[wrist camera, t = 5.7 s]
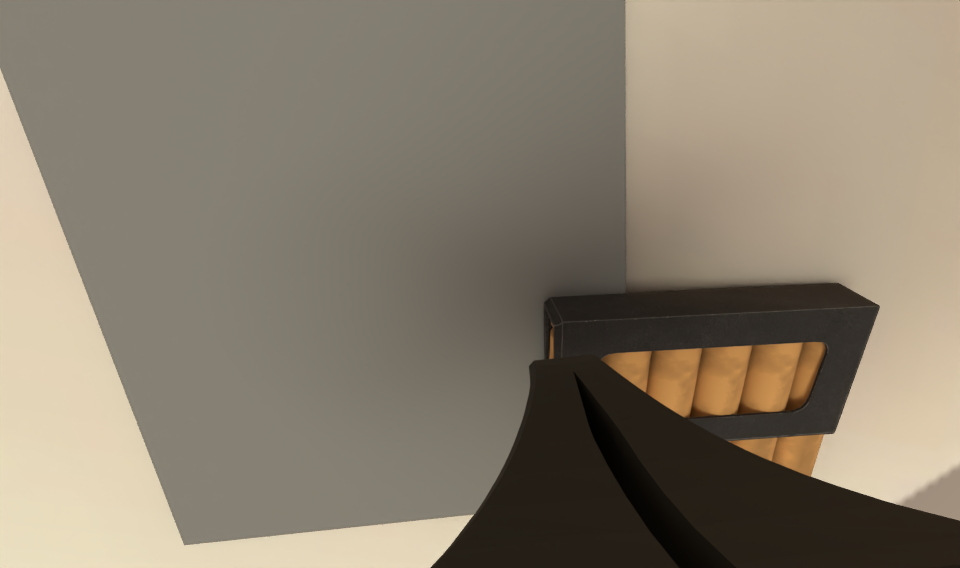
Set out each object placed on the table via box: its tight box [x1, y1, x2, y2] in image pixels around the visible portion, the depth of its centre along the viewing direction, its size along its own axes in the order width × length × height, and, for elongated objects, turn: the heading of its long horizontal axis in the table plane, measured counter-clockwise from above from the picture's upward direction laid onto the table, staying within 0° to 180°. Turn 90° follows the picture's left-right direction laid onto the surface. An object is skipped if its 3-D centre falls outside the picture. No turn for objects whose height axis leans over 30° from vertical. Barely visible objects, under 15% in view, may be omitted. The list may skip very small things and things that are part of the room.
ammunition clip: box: [544, 283, 880, 477], centre depth 20 cm, size 11×2×12 cm
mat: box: [0, 0, 626, 545], centre depth 18 cm, size 18×20×1 cm
